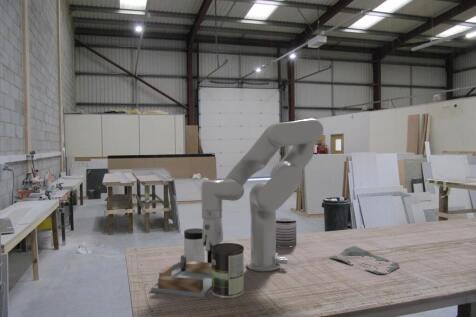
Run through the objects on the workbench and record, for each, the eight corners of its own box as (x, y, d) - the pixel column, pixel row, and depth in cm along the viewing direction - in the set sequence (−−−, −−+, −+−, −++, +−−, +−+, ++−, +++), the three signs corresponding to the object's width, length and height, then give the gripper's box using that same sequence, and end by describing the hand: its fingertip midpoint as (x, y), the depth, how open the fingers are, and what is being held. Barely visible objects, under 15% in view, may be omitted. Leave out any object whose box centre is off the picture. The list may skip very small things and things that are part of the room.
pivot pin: (187, 269, 131) (187, 255, 131) (185, 271, 129) (184, 257, 129) (182, 269, 131) (182, 255, 131) (179, 271, 130) (179, 256, 129)
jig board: (224, 274, 129) (224, 262, 129) (204, 297, 110) (204, 283, 110) (178, 270, 134) (178, 258, 134) (151, 291, 115) (150, 278, 115)
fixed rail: (203, 289, 113) (203, 279, 113) (199, 292, 110) (199, 283, 110) (162, 284, 117) (162, 275, 117) (158, 288, 114) (158, 278, 114)
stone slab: (407, 271, 136) (407, 265, 135) (380, 281, 127) (380, 275, 127) (354, 250, 156) (354, 245, 156) (328, 258, 147) (328, 253, 147)
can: (268, 246, 165) (268, 220, 164) (275, 240, 175) (275, 215, 175) (293, 249, 160) (293, 222, 160) (299, 242, 171) (299, 217, 170)
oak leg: (185, 271, 128) (185, 263, 128) (189, 269, 131) (189, 260, 131) (218, 274, 125) (218, 266, 125) (220, 272, 128) (220, 263, 128)
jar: (189, 265, 139) (188, 234, 139) (180, 259, 146) (179, 230, 146) (209, 261, 144) (209, 231, 144) (200, 255, 151) (199, 227, 151)
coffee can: (211, 299, 109) (211, 252, 108) (211, 285, 119) (210, 243, 118) (245, 297, 110) (245, 251, 109) (242, 284, 120) (242, 242, 119)
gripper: (214, 218, 126) (215, 270, 126) (227, 210, 140) (227, 257, 141) (194, 217, 128) (195, 268, 128) (209, 209, 142) (209, 256, 143)
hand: (212, 262), depth 135 cm, fingers closed
